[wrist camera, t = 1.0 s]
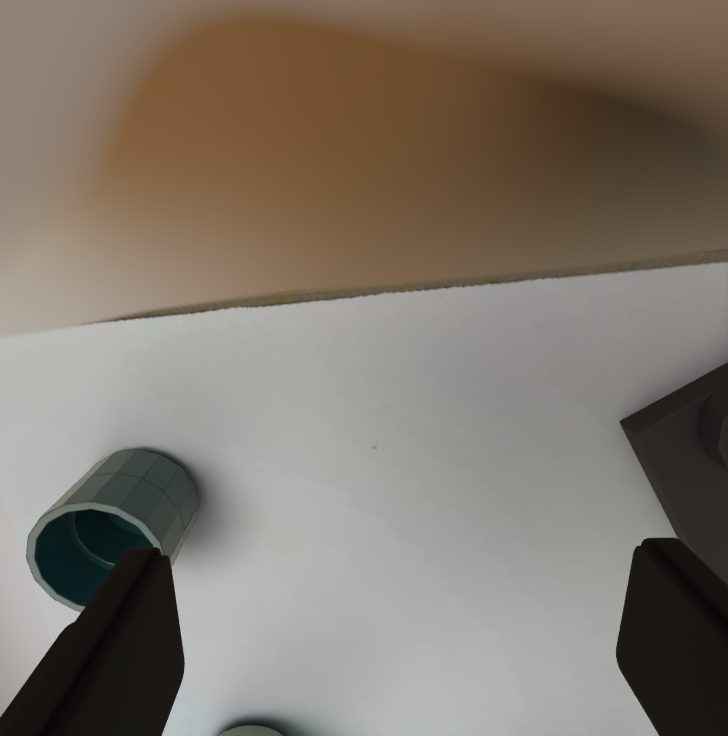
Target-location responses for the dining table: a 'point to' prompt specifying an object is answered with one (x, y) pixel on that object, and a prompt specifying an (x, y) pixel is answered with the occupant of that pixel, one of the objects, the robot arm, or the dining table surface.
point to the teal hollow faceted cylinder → (110, 523)
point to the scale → (689, 463)
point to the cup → (251, 731)
